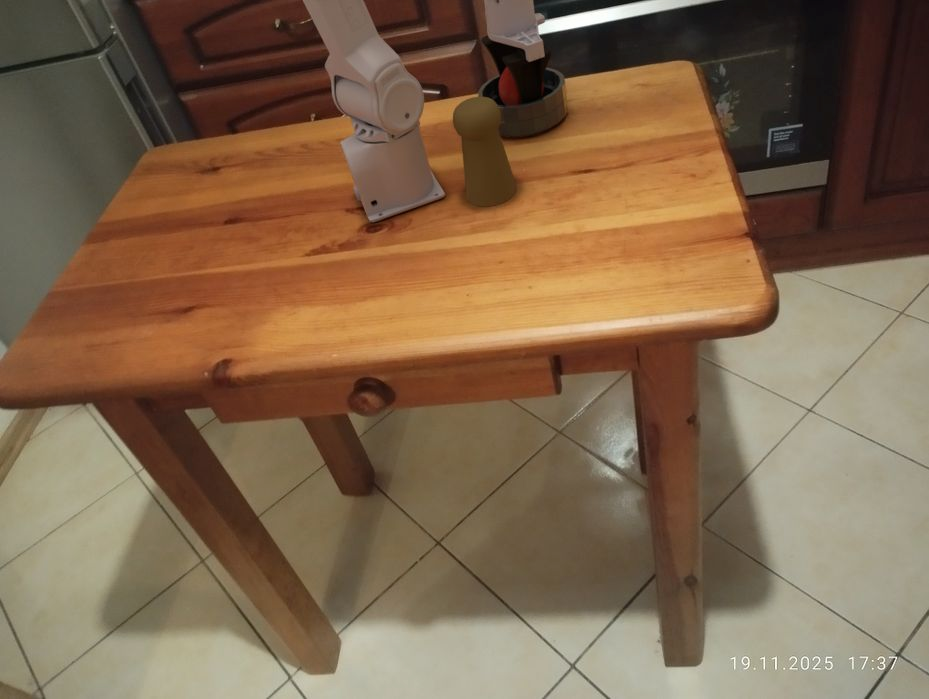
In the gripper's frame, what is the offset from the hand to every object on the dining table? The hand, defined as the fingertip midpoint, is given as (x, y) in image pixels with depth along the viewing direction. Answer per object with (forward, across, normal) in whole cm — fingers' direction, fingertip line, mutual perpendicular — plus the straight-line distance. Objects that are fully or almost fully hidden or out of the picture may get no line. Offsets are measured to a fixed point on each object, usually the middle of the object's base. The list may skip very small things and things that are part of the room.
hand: (522, 97), depth 88 cm
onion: (+3, 0, 0) cm, 3 cm away
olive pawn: (+3, -14, +10) cm, 17 cm away
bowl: (+3, 0, 0) cm, 3 cm away
